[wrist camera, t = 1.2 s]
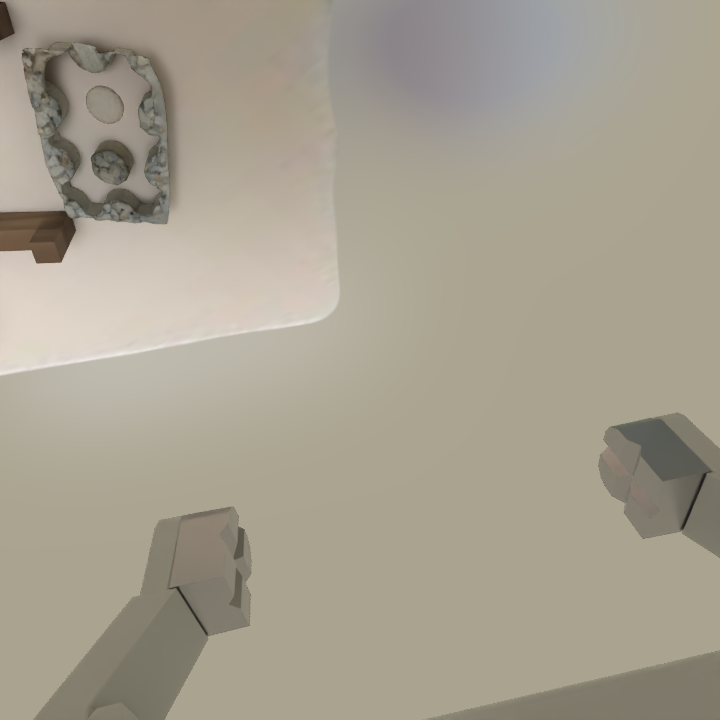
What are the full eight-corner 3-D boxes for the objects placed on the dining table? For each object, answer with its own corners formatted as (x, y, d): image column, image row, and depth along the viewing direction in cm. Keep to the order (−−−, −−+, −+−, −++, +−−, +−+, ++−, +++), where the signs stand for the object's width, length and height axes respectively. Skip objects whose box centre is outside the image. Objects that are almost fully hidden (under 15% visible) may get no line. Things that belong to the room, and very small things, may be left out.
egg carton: (32, 29, 30) (12, 38, 27) (166, 51, 32) (161, 62, 29) (64, 202, 36) (50, 225, 33) (173, 210, 38) (170, 233, 35)
